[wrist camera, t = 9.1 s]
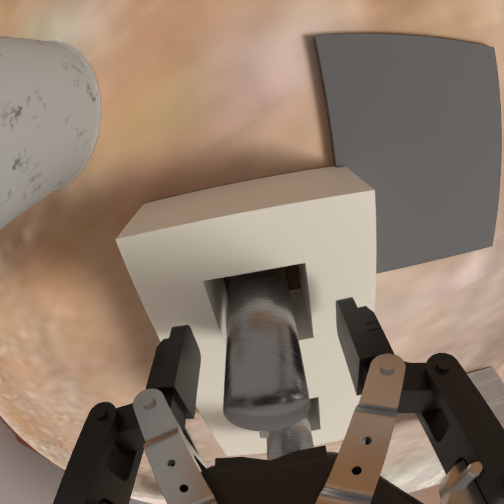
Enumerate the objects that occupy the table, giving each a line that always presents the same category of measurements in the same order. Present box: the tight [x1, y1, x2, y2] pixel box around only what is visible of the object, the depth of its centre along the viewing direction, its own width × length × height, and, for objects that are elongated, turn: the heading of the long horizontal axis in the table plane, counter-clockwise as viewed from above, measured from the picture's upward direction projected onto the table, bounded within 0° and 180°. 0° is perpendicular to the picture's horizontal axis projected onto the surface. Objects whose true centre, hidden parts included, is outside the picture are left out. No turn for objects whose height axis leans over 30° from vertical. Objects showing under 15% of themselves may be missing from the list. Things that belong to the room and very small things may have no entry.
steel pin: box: [223, 267, 310, 431], centre depth 14 cm, size 3×3×10 cm
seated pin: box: [266, 414, 314, 460], centre depth 19 cm, size 3×3×10 cm
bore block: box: [115, 166, 376, 456], centre depth 19 cm, size 20×11×4 cm, turn 11°
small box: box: [467, 367, 504, 429], centre depth 23 cm, size 8×6×10 cm
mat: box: [314, 34, 502, 273], centre depth 15 cm, size 14×12×1 cm
